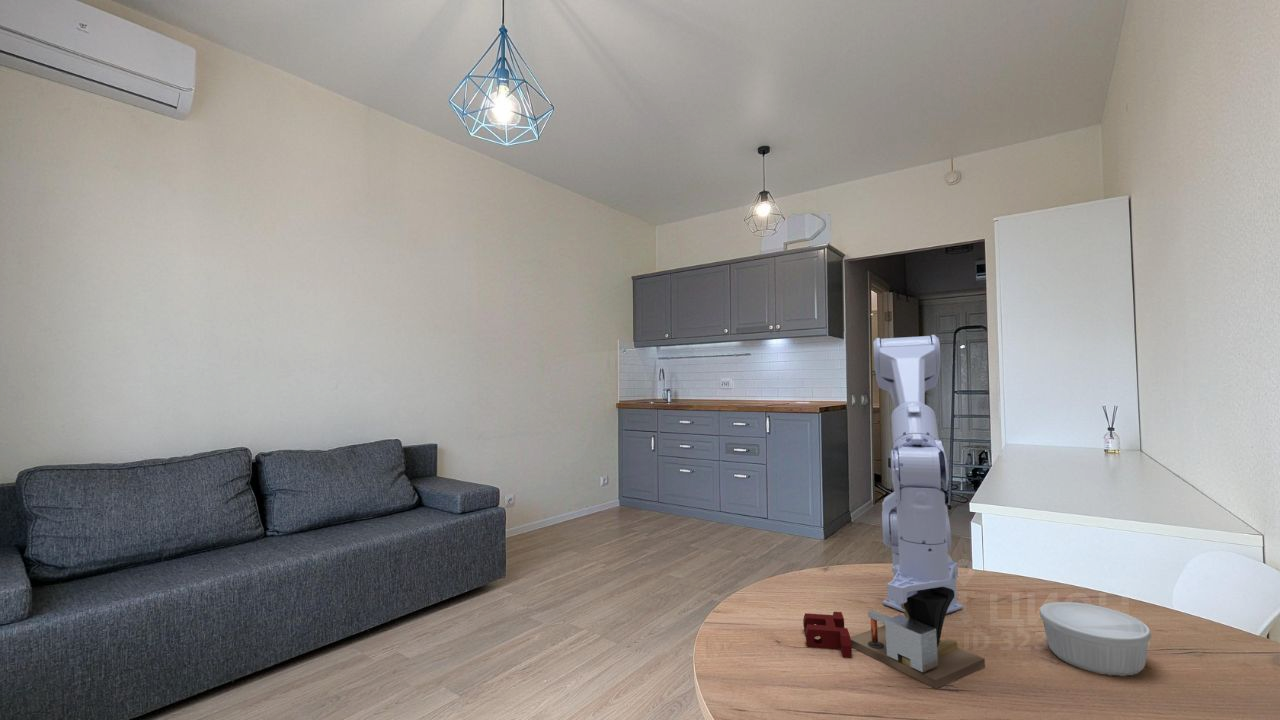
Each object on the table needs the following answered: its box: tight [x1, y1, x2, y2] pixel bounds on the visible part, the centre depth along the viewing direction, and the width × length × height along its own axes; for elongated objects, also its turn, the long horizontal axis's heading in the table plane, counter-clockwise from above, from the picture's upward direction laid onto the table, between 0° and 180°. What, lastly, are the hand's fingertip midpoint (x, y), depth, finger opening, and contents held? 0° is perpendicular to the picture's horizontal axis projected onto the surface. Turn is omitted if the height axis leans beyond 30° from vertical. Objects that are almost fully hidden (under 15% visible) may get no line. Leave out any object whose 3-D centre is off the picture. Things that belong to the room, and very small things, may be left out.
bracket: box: [802, 611, 853, 659], centre depth 78 cm, size 3×6×10 cm
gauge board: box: [850, 603, 986, 690], centre depth 73 cm, size 13×10×6 cm
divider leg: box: [867, 609, 938, 672], centre depth 71 cm, size 8×3×4 cm, turn 28°
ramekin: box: [1039, 601, 1152, 677], centre depth 71 cm, size 11×11×5 cm
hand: (928, 645), depth 71 cm, fingers closed
